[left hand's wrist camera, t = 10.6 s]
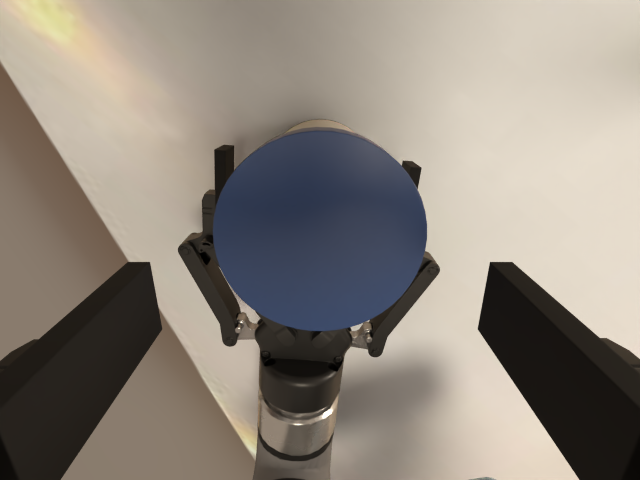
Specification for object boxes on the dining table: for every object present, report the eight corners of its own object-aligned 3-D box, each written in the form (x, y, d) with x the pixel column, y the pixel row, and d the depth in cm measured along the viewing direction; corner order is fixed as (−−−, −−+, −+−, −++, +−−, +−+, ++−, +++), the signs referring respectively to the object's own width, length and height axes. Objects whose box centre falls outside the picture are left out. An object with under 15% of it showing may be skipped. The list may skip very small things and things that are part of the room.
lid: (374, 89, 18) (382, 89, 16) (441, 270, 21) (454, 288, 19) (186, 179, 19) (170, 189, 17) (277, 333, 23) (273, 356, 21)
